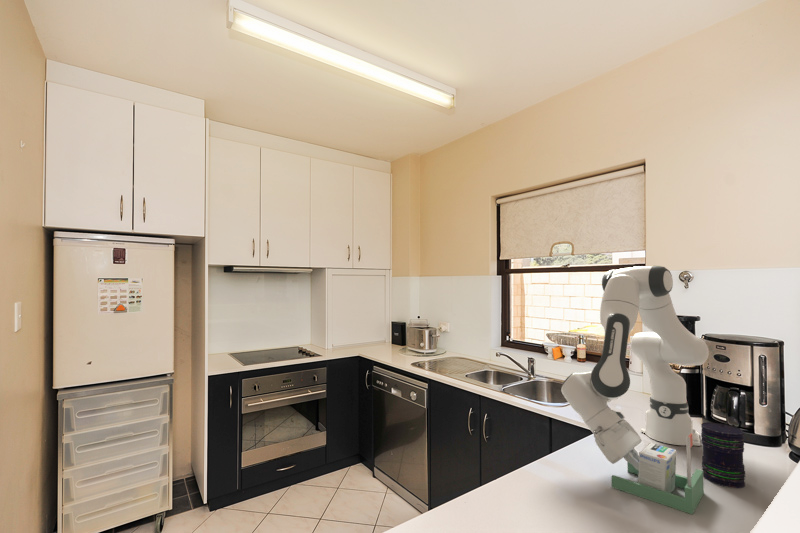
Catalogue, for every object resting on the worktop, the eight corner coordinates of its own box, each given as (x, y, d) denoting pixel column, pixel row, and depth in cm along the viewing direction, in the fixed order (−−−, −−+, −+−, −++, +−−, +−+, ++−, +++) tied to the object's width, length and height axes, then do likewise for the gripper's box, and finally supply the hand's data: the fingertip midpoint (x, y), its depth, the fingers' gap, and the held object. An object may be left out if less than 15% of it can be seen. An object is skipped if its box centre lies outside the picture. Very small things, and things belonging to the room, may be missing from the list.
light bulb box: (648, 478, 116) (649, 441, 117) (676, 488, 112) (677, 449, 112) (636, 491, 109) (638, 451, 109) (665, 502, 104) (667, 460, 104)
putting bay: (628, 470, 122) (627, 410, 123) (703, 493, 109) (701, 425, 110) (611, 487, 112) (610, 421, 113) (692, 514, 99) (690, 439, 100)
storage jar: (744, 492, 110) (742, 436, 111) (699, 480, 117) (698, 427, 118) (746, 480, 117) (744, 428, 118) (704, 469, 124) (703, 420, 125)
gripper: (599, 425, 112) (638, 473, 105) (623, 411, 126) (659, 452, 119) (583, 437, 115) (620, 484, 108) (608, 421, 129) (642, 462, 122)
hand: (641, 467), depth 113 cm, fingers closed, pressing on light bulb box
